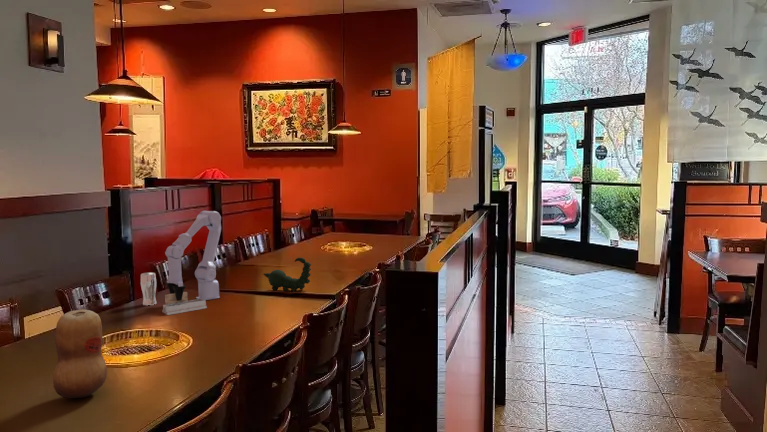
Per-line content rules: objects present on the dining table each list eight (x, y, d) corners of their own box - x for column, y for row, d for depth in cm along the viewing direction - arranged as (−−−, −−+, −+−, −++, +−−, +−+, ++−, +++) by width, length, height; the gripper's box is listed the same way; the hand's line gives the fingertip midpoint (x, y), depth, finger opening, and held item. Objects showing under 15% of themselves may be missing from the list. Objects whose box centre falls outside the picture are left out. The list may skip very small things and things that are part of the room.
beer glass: (160, 302, 267) (158, 272, 266) (152, 306, 260) (151, 275, 259) (146, 302, 268) (144, 272, 266) (139, 305, 261) (137, 275, 260)
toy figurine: (310, 291, 293) (265, 287, 294) (312, 256, 291) (267, 252, 293) (306, 295, 283) (259, 291, 285) (308, 260, 281) (261, 255, 283)
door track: (201, 305, 260) (200, 298, 260) (206, 308, 255) (206, 300, 255) (162, 312, 249) (162, 304, 249) (167, 315, 244) (167, 307, 243)
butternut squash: (78, 409, 149) (71, 320, 147) (43, 402, 154) (37, 316, 152) (119, 390, 162) (114, 307, 160) (86, 384, 167) (81, 304, 165)
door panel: (186, 303, 264) (186, 291, 264) (187, 304, 263) (187, 292, 262) (165, 307, 258) (165, 294, 257) (166, 307, 257) (166, 295, 256)
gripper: (161, 269, 262) (162, 297, 263) (171, 274, 251) (172, 303, 252) (176, 268, 266) (177, 295, 268) (186, 272, 255) (188, 300, 256)
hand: (176, 298), depth 260 cm, fingers open, 7 cm apart
